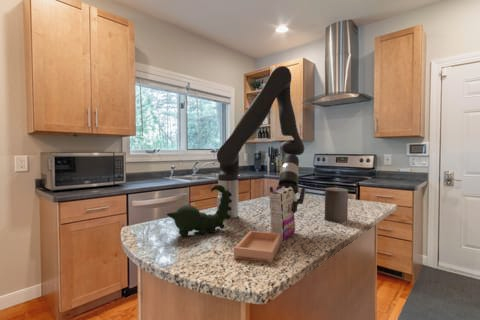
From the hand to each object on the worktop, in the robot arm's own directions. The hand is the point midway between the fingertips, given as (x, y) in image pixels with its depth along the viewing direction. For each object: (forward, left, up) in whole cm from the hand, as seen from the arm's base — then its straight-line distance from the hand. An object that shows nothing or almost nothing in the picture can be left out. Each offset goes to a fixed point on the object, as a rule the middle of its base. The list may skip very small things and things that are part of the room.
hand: (284, 211), depth 97 cm
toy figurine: (-30, -8, -9) cm, 32 cm away
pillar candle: (+19, +27, -9) cm, 34 cm away
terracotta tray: (-5, -18, -8) cm, 20 cm away
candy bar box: (0, -2, -8) cm, 9 cm away
